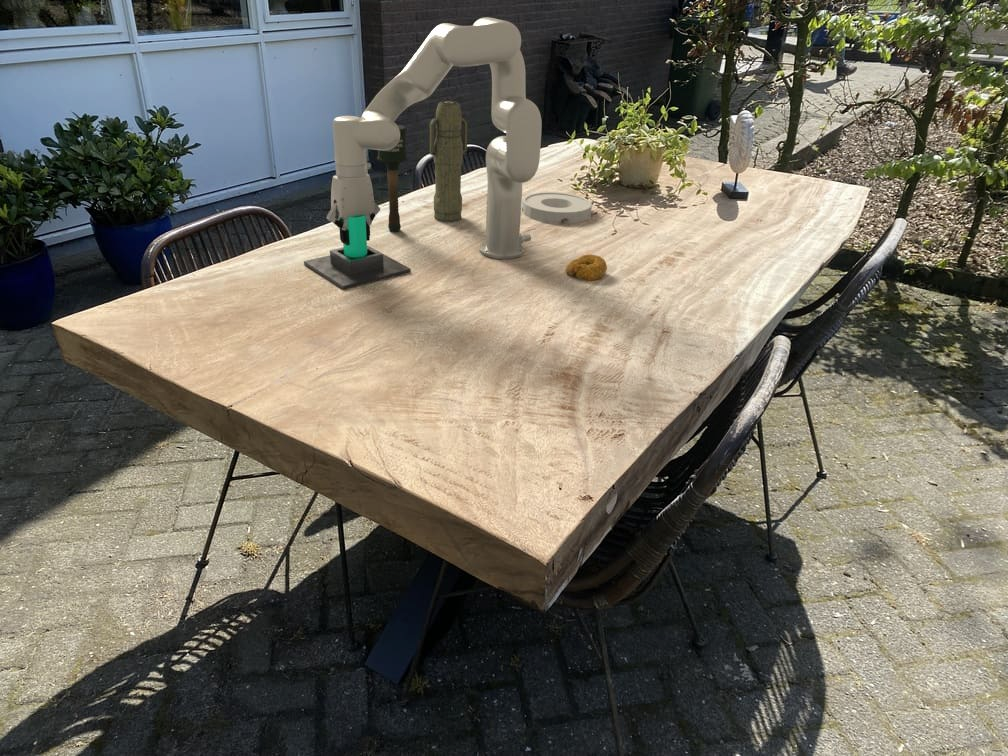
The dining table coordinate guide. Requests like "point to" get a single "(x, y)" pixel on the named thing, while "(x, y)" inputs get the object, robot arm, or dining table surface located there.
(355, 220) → the candle
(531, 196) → the grey round base
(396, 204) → the grenade
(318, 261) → the socket holder
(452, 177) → the olive green tall cylinder
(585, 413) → the dining table surface
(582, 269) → the bagel
